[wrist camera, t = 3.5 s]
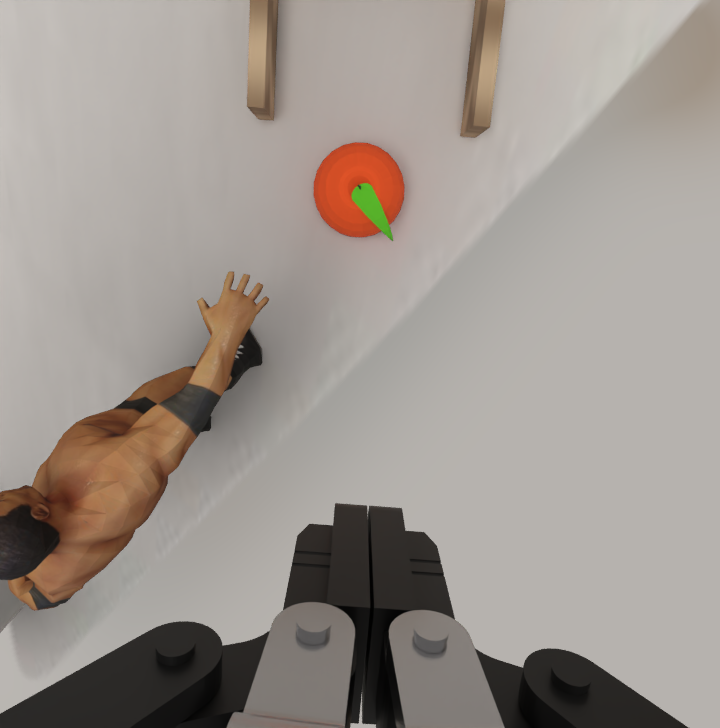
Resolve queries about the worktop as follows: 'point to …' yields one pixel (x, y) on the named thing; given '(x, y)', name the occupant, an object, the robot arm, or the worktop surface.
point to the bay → (478, 75)
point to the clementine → (359, 190)
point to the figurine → (119, 464)
